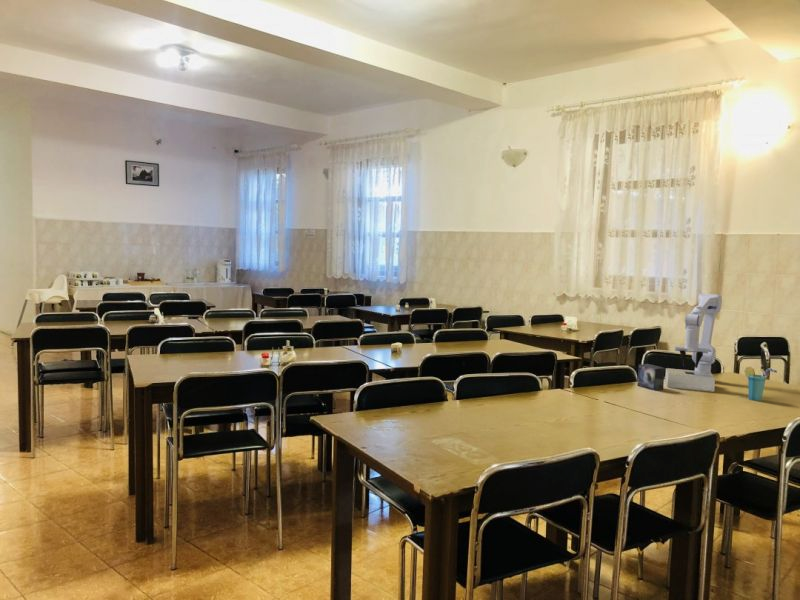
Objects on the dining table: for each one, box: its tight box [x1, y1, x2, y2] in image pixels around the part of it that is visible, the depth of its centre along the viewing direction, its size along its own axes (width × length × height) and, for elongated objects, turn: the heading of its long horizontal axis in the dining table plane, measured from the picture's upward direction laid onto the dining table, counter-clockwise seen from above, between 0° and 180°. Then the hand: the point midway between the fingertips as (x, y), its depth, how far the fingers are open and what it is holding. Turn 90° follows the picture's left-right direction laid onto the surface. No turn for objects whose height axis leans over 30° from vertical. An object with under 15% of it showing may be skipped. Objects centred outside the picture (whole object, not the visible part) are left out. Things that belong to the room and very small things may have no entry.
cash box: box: [664, 367, 716, 393], centre depth 298 cm, size 16×20×6 cm
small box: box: [636, 363, 666, 391], centre depth 292 cm, size 11×6×10 cm, turn 25°
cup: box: [744, 366, 778, 402], centre depth 273 cm, size 14×8×15 cm, turn 34°
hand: (690, 367), depth 298 cm, fingers open, 5 cm apart
